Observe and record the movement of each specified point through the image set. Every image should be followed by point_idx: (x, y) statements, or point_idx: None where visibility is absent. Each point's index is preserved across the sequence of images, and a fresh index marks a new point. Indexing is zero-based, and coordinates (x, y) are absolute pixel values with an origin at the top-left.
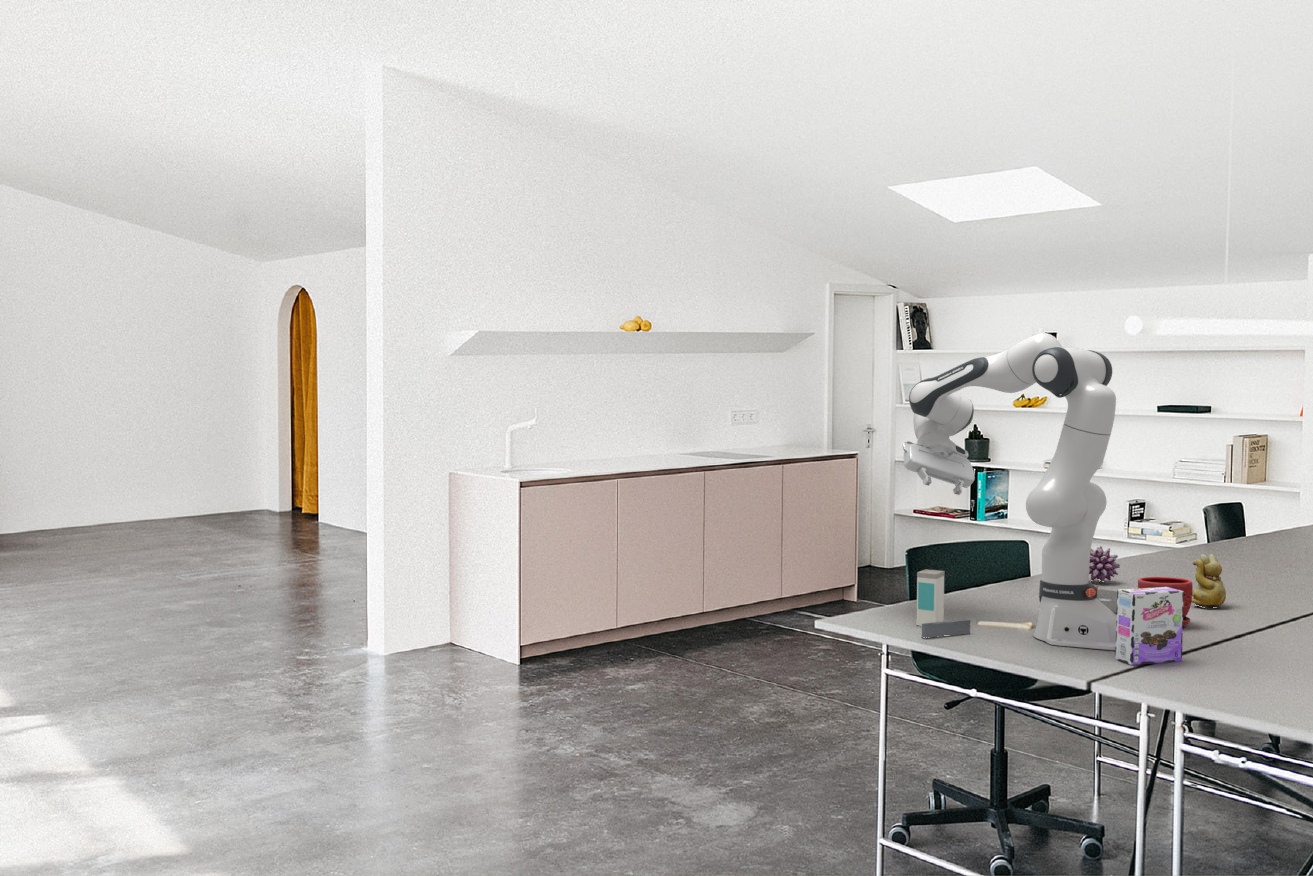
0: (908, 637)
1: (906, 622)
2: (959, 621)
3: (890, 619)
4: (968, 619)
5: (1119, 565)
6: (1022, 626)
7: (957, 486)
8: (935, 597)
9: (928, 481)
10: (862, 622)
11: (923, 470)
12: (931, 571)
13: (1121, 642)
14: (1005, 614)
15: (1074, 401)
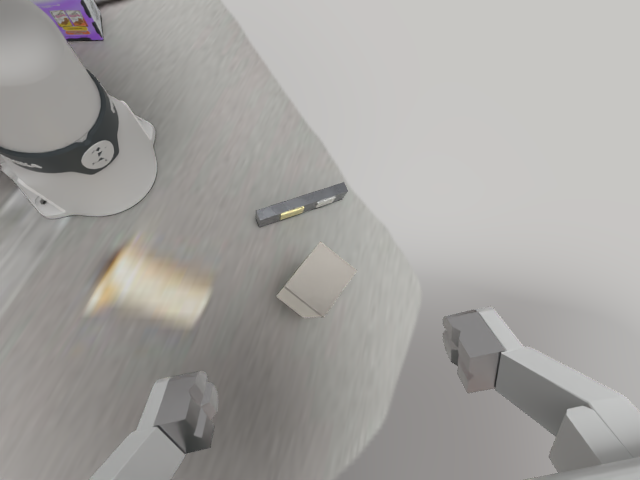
0: (360, 204)
1: (337, 314)
2: (279, 203)
3: (359, 342)
4: (258, 214)
5: None
6: (128, 269)
7: (181, 411)
8: (310, 253)
9: (471, 311)
10: (410, 317)
11: (597, 394)
12: (319, 283)
13: (89, 2)
14: (101, 394)
15: None
